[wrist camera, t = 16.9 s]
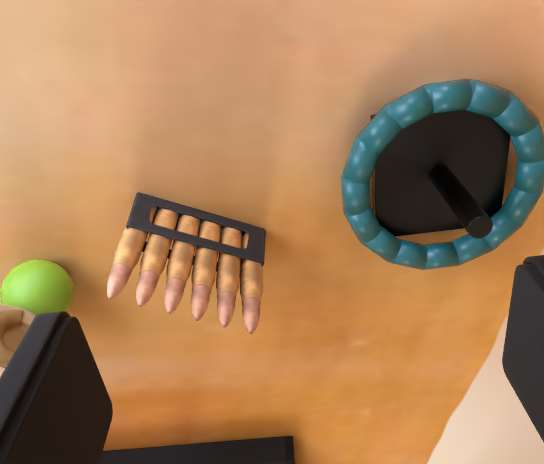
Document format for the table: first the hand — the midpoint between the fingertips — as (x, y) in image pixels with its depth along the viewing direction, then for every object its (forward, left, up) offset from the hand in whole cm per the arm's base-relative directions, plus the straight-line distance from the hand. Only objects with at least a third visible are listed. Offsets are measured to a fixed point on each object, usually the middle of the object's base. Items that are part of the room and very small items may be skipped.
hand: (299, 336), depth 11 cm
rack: (+10, +12, -28) cm, 32 cm away
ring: (+10, +12, -26) cm, 30 cm away
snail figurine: (+15, -21, -28) cm, 38 cm away
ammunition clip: (+12, -7, -28) cm, 32 cm away
